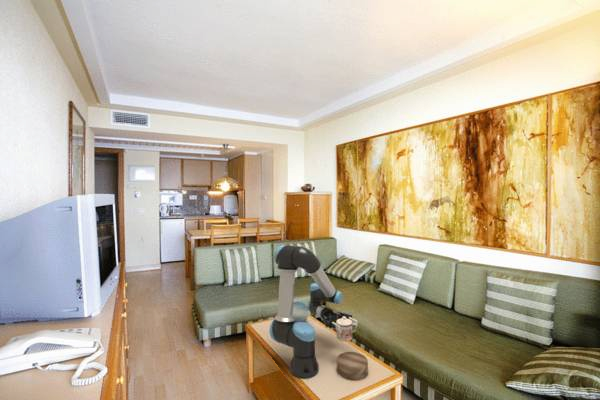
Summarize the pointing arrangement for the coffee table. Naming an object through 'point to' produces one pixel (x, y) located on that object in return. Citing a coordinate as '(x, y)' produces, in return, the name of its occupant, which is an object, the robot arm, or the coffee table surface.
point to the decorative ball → (300, 312)
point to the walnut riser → (352, 366)
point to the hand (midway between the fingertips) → (348, 326)
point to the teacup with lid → (345, 329)
